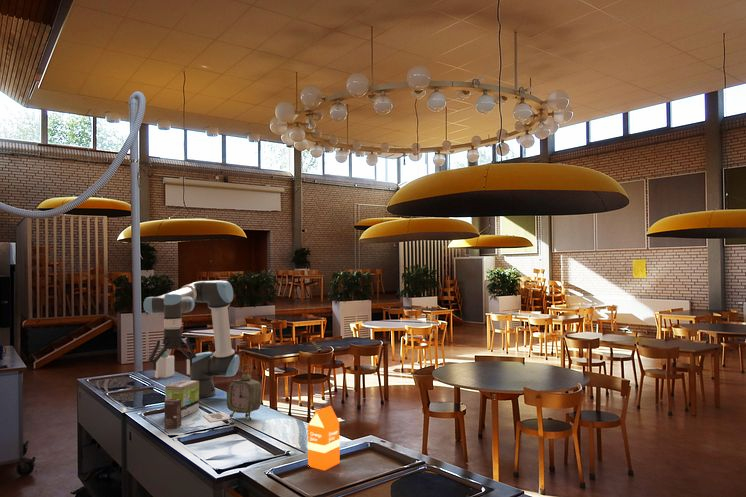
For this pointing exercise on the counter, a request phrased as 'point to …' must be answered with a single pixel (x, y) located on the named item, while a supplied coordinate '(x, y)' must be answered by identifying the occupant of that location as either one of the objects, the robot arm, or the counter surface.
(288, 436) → the counter surface
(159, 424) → the counter surface
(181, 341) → the robot arm
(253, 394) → the tabletop clock
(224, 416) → the card
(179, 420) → the box
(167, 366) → the soap bottle
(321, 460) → the orange juice
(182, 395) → the tea box
